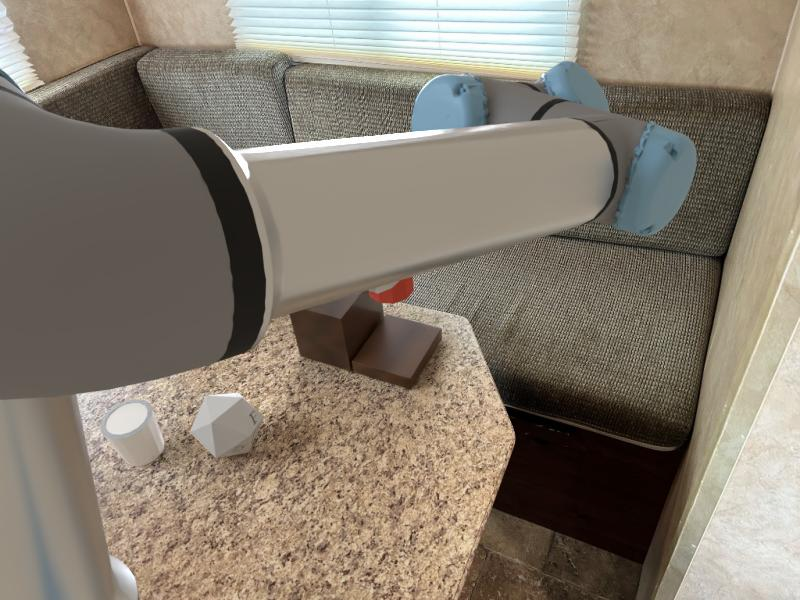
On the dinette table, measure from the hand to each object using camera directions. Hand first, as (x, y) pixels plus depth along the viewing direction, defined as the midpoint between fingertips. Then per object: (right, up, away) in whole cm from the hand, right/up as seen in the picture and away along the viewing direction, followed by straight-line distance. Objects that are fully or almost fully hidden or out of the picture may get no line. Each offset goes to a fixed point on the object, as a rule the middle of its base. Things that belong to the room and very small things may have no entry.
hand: (365, 268), depth 83 cm
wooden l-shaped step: (0, -12, +15) cm, 20 cm away
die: (-19, -25, +3) cm, 31 cm away
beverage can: (+4, -4, +1) cm, 5 cm away
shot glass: (-32, -26, +3) cm, 41 cm away
